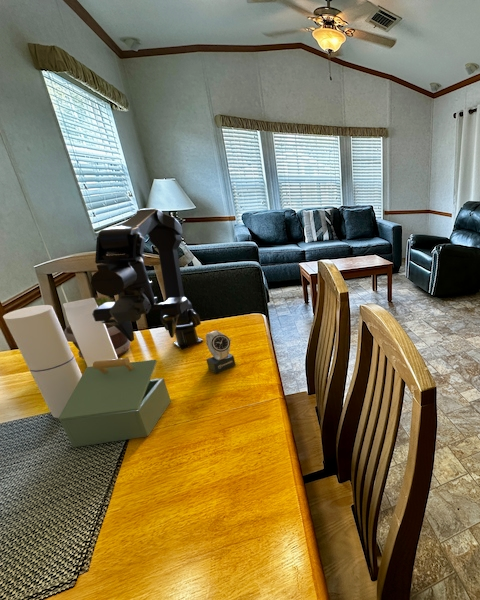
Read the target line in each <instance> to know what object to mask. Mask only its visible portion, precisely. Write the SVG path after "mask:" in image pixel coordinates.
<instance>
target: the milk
mask: <svg viewBox="0 0 480 600" xmlns="http://www.w3.org/2000/svg"><path fill="white" fill-rule="evenodd" d="M62 306H63V309H64V312H65V316H66V320H67V323H68V324H69V325H68V326H70V327H71V329H72V332H73V334H74V336H75V339H76V341H77V343H78V346H79V348H80V350H81V353H82V355H83V357H84V359H83V360H84V362H85V364H86V368H87V367H92V366H93V363H94V362H95V361H103V360H112V359H119V357H117V354H116V352H115V349H114V347H113V344H112V341H111V339H110V336H109V334H108V331H107V328H106V326H105V324H103V323H102V321H97V322H96V321H95V320H94V318H93V315H92V314H93V311H94V309H96V308H98V305H97V303H96V298H95V297H89V298H84V299H79V300H74V301H68V302H64V303H63V304H62Z"/></svg>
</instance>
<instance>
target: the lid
mask: <svg viewBox="0 0 480 600" xmlns="http://www.w3.org/2000/svg"><path fill="white" fill-rule="evenodd" d="M157 363H158V361H157V359H150V360H142V361H141V360H139V361H130V358H129V357H124V358H123V357H122V358H118V359H112V360H103V361H95V362H94V363H93V366H92V367H87V366H86V367H85V370H83V373H82V377H81V378H80V380H79V382H78V384H77V386H76V387H75V389H74V391H73V393H72V395H71V396H70V398H69V400H68V402H67V404H66V405H65V407H64V409H63V411H62V413H61V414H60V416H59V418H57V419H58V420H59V421H61V420H66V419H74V418H81V417H89V416H96V415H104V414H111V413H119V412H126V411H134V410H139V407H140V405H141V402H142V399H143V397H144V394H145V392H146V389H147V386H148V384H149V381H150V380H151V378H152V376H153V373H154V371H155V368H156V365H157Z"/></svg>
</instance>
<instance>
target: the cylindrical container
mask: <svg viewBox="0 0 480 600" xmlns="http://www.w3.org/2000/svg"><path fill="white" fill-rule="evenodd" d="M2 318H3V320H4V322H5V324H6V327H7V328H8V331H9V332H10V334H11V336H12V338H13V340H14V342H15V344H16V346H17V348H18V350H19V352H20V354H21V357H22V358H23V360H24V362H25V364H26V366H27V368H28V370H29V372H30V374H31V376H32V378H33V379H34V382H35V384H36V386H37V388H38V390H39V392H40V394H41V396H42V398H43V400H44V402H45V404H46V406H47V408H48V410H49V412H50V414H51V416H52V417H53V418H55V419H58V418H59V416H60V414H61V413H62V411H63V409H64V407H65V405H66V404H67V402H68V400H69V398H70V396H71V395H72V393H73V391H74V389H75V387H76V386H77V384H78V382H79V380H80V378H81V377H82V375H83V373H82V371H81V370H80V367H79V365H78V362H77V361H76V358H75V356H74V353H73V351H72V348H71V346H70V344H69V341H67V339H66V337H65V335H64V330H63V328H62V326H61V323H60V321H59V318H58V315H57V313H56V312H55V309H54V307H53V305H52V304H51V305H50V304H39V305H33V306H28V307H22V308H18V309H15V310H11V311H9V312H8V313H5V314H4V315H3V316H2Z"/></svg>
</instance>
